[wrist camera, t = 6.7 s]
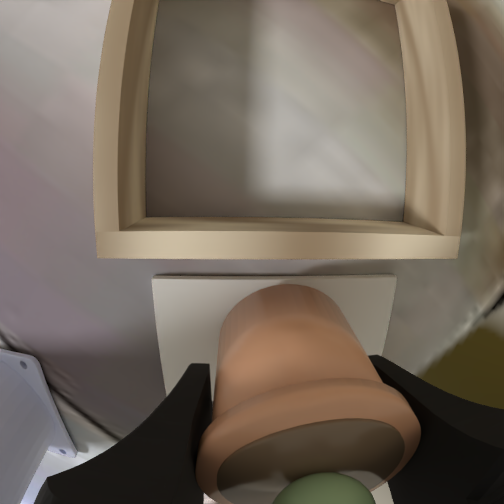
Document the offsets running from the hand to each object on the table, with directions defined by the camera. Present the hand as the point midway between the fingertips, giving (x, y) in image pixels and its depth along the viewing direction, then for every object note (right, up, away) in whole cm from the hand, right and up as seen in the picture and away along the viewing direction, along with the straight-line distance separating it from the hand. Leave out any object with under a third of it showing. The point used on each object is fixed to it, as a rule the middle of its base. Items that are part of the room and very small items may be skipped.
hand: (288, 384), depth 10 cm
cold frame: (0, +11, 0) cm, 11 cm away
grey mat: (0, +1, +3) cm, 3 cm away
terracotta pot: (0, +1, +2) cm, 2 cm away
